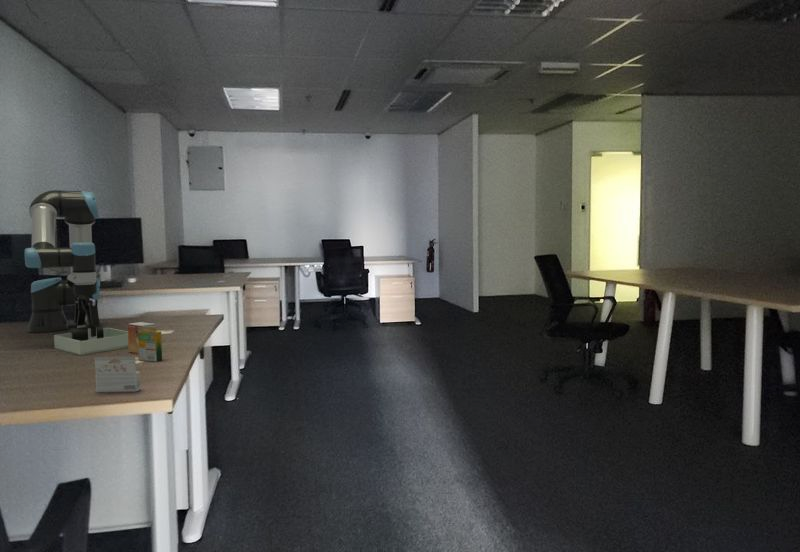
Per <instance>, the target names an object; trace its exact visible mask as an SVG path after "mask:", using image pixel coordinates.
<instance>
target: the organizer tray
mask: <svg viewBox="0 0 800 552" xmlns="http://www.w3.org/2000/svg"><path fill="white" fill-rule="evenodd" d="M103 332H104V338H99V339H92V340H85V341H78V340H74V339H71V338H72V333H71V332H67V333H59V334H58V333H57V334H54V335H53V343H54V345H53V346H54V349H57V350H59V351H63V352H68V353H70V354H74V355H78V356H86V355H91V354H92V355H93V354H97V353H99V354H100V353H103V352H109V351H110V352H111V351H115V350H122V349H127V348H128V349H129V347H128V330H122V329H117V328H112V327H103Z"/></svg>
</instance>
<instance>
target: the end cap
mask: <svg viewBox="0 0 800 552" xmlns="http://www.w3.org/2000/svg"><path fill="white" fill-rule="evenodd" d="M87 327H88V326H86V327H82V328H77V327H73V328H71V331H70V333H72V338H71V339H74V340H78V341H85V340H88V328H87ZM103 328H104V327H103V325H100V326H97V339H99V338H104V332H103Z"/></svg>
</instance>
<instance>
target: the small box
mask: <svg viewBox="0 0 800 552" xmlns="http://www.w3.org/2000/svg"><path fill="white" fill-rule="evenodd" d="M138 327H155V328H156V323H152V322H151V323H150V322H143V321H139V322H133V323H127V332H128V347H129V348H128V352H129V353H133V354H138V355H139V351H138ZM143 331H150V329H147V328H146V329H143Z"/></svg>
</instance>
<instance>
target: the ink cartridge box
mask: <svg viewBox="0 0 800 552" xmlns="http://www.w3.org/2000/svg"><path fill="white" fill-rule="evenodd" d="M93 357H94V358H93V359H94V360H93V361H94V367H95V369H94V370H95V380H94V381H95V392H96V393H115V392H116V393H119V392H121V393H123V392H124V393H127V392H131V393H132V392H138V391H140V390H141V371H139V370H137V365H136V364H137V362H136V356H135V355H134V356H132V355H131V356H127V355H126V356H93ZM113 360H116V361H120V362H118V363H117V362H114V363H113V362H111V361H113ZM110 362H111V363H110Z"/></svg>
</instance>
